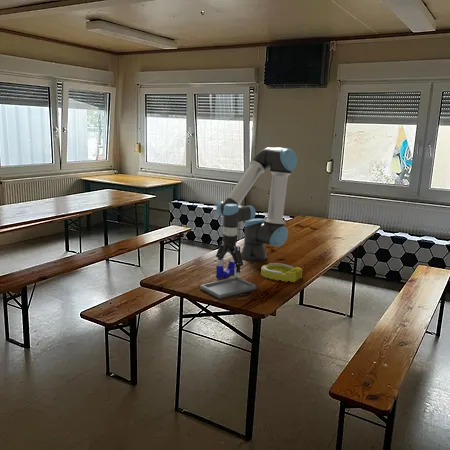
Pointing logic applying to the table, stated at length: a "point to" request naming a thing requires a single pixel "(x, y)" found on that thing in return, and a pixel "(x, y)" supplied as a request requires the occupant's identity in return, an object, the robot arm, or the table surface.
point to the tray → (227, 287)
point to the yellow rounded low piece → (281, 272)
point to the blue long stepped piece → (227, 272)
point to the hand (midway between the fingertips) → (228, 274)
